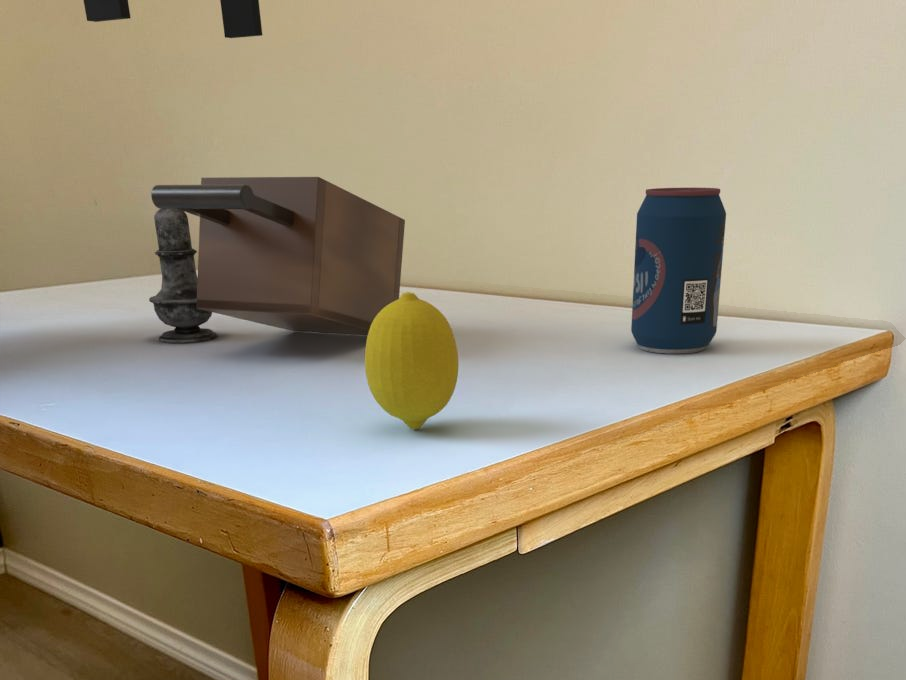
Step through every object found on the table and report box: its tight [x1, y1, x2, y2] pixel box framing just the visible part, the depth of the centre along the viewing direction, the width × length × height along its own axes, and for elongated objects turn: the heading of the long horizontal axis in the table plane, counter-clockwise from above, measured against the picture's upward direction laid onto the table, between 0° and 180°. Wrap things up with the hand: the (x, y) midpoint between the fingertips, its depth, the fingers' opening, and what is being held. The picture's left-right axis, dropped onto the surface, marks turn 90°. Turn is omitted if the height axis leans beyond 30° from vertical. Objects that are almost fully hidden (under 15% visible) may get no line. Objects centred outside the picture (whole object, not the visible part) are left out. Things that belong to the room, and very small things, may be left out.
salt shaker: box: [148, 208, 219, 344], centre depth 90 cm, size 6×6×12 cm
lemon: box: [364, 291, 459, 430], centre depth 60 cm, size 6×6×8 cm
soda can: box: [630, 187, 727, 355], centre depth 81 cm, size 7×7×12 cm
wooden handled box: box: [150, 176, 406, 337], centre depth 82 cm, size 21×11×10 cm, turn 155°
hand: (182, 29), depth 66 cm, fingers open, 13 cm apart
